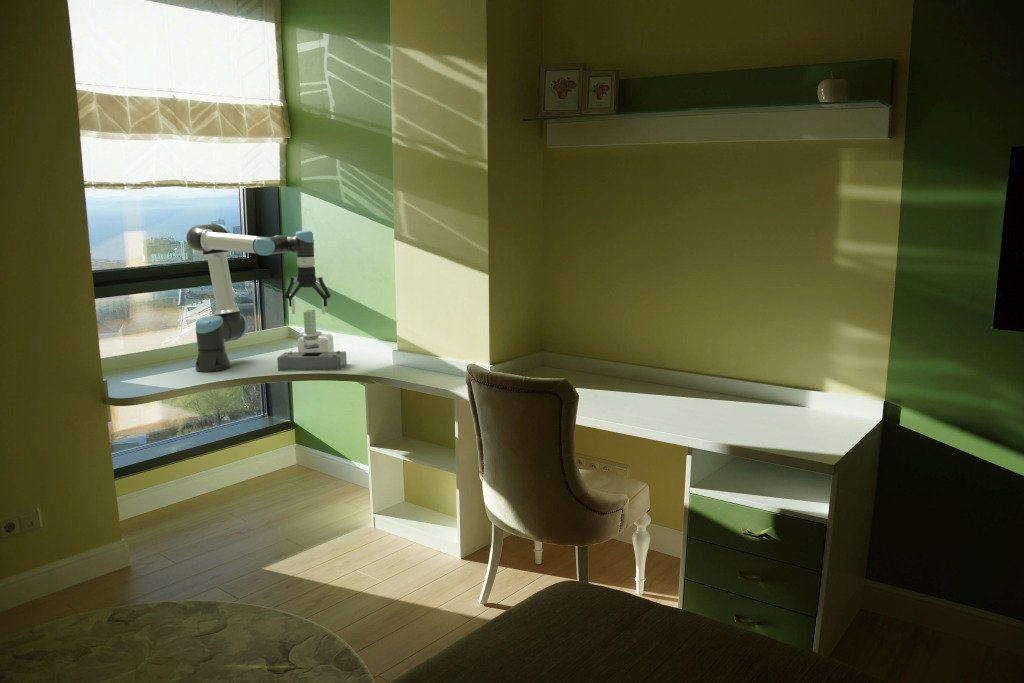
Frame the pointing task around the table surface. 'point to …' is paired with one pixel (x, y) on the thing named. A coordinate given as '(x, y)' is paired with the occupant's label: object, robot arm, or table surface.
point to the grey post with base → (310, 331)
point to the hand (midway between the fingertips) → (308, 313)
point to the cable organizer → (324, 344)
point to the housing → (312, 361)
